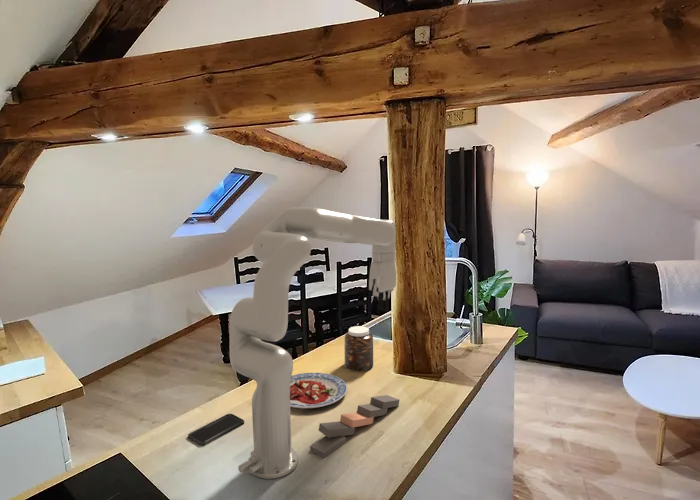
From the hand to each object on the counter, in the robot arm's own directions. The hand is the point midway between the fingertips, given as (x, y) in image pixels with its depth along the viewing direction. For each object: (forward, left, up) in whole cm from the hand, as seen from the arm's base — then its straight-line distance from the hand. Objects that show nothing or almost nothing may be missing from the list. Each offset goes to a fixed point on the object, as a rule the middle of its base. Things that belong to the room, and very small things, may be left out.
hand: (383, 310), depth 145 cm
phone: (-50, +25, -30) cm, 63 cm away
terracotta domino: (-19, -7, -28) cm, 34 cm away
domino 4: (-5, -7, -28) cm, 30 cm away
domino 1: (-26, -6, -28) cm, 39 cm away
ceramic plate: (-17, +19, -30) cm, 39 cm away
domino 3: (-12, -7, -28) cm, 31 cm away
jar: (+12, +20, -29) cm, 38 cm away
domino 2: (-31, -6, -29) cm, 43 cm away
